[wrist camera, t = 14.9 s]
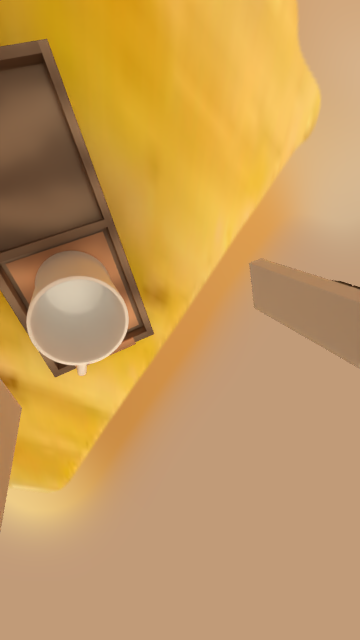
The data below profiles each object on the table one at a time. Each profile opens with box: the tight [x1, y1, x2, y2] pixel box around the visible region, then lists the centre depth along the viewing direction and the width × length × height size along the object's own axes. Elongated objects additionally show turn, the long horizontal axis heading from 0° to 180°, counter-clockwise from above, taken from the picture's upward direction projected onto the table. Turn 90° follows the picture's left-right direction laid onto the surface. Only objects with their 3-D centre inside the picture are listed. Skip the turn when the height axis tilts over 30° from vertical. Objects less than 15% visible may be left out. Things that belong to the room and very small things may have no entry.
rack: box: [0, 39, 154, 377], centre depth 30 cm, size 30×14×3 cm, turn 16°
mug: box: [26, 251, 129, 376], centre depth 29 cm, size 12×8×12 cm
